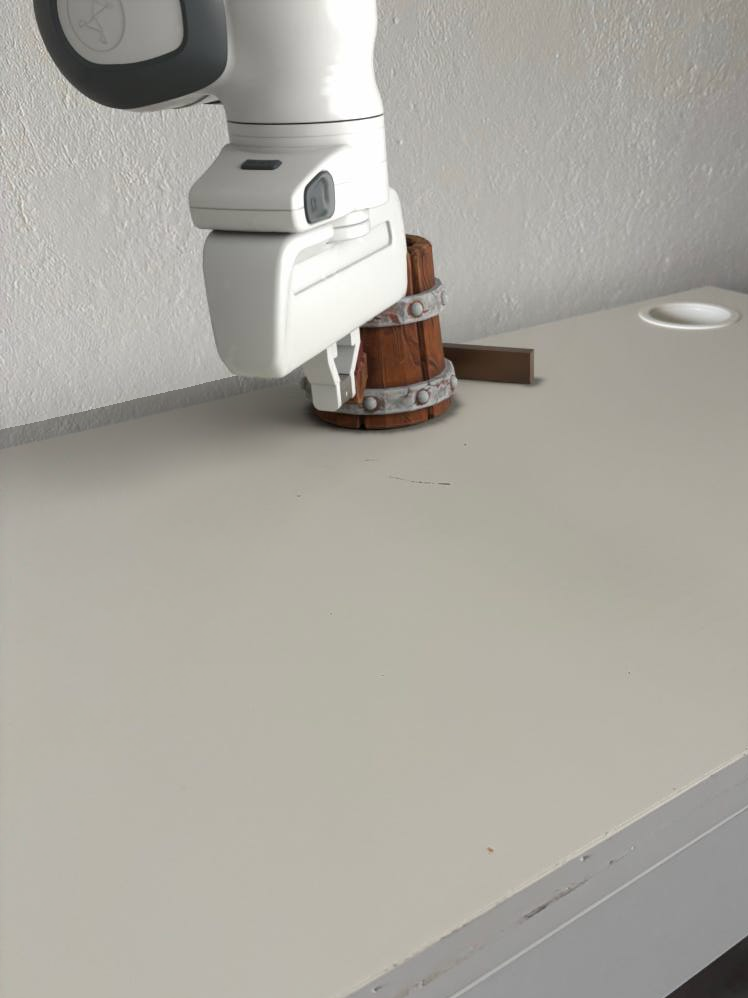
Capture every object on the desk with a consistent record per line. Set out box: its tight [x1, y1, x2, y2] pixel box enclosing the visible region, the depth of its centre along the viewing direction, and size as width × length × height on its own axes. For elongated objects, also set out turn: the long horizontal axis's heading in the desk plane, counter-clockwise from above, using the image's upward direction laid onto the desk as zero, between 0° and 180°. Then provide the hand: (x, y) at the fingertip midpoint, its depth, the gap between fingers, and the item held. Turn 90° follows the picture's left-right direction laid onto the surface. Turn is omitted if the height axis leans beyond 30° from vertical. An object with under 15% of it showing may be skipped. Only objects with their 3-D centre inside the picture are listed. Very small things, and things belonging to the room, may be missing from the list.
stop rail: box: [442, 342, 535, 385], centre depth 84 cm, size 14×1×2 cm, turn 72°
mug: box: [299, 233, 459, 430], centre depth 74 cm, size 12×14×15 cm
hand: (335, 404), depth 67 cm, fingers closed
